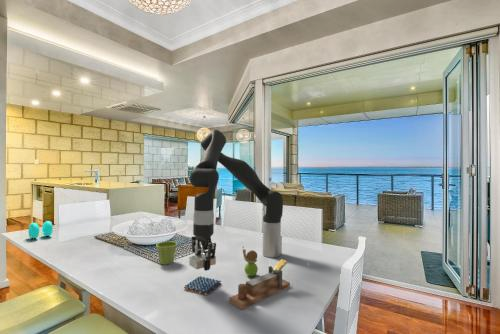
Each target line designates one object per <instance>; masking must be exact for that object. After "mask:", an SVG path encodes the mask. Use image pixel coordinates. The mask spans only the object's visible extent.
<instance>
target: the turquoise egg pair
mask: <svg viewBox="0 0 500 334" xmlns="http://www.w3.org/2000/svg"><path fill="white" fill-rule="evenodd" d="M52 223H53V222H52V221H50V220H45V222H43V224H42V227H41V231H42V235H43V236H44V235H45V236H44V237H46V236H49V237H51V236H52V235H53V231H54V226H53V224H52ZM39 234H40V226H39V225H38V223H36V222H31V223H30V224H29V226H28V237H29V239H31V238H36V239H37V238H38V237H39ZM50 235H51V236H50Z"/></svg>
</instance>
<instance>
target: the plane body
mask: <svg viewBox="0 0 500 334" xmlns="http://www.w3.org/2000/svg"><path fill="white" fill-rule="evenodd" d="M271 268H273V266H268V272H267V273H266V274H263V275H261V276H258V277H255V278H252V279H250V280H247V281H245V283H240V284H238V286H237V287H238V288H237V289H238V290H237V292H238V293H237V294H234V295H232V296H230V297H229V300H228V301H229V303H230V304H232V305H233V306H235V307H236V308H237V309H240V310H243V309H246V308H247V307H249V306H253V305H254V304H257V303H258V302H260V301H263V300H265V299H267V298H269V297H271V296H273V295H275V294H277V293H280V292H282V291H284V290H286V289H288V288H290V287H291V283H290V281H288V280H285V279H283V269H281V270H280V271H279V274H277V273H275V272H272V271H271Z"/></svg>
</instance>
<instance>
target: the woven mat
mask: <svg viewBox="0 0 500 334" xmlns="http://www.w3.org/2000/svg"><path fill="white" fill-rule="evenodd" d="M221 282H222V281H221V280H219V279H215V278H210V277H205V276H201V275H200V276H197V277H196V278H195V279H193V280H192V281H190V282H189V283H187V284H185V285H184V286H183V288H184V289H183V291H187V292H189V293H190V292H192V293H195V294H199V295H201V296H203V295H205V296H209V294H210V293H211V292H213V291H214V290H216V288H218V287H219V286H220V285H222V283H221Z"/></svg>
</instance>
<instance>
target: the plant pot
mask: <svg viewBox="0 0 500 334" xmlns="http://www.w3.org/2000/svg"><path fill="white" fill-rule="evenodd" d="M177 245H178V242H177V241H173V240H172V241H170V240H169V241H161V242H159V243H158V242H157V243H156V245H155V246H156V249H157V252H158V258H159V259H158V260H159V265H163V266H164V265H171V264H173V263H174V261H175V260H174V259H175V254H176V248H177Z"/></svg>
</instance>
